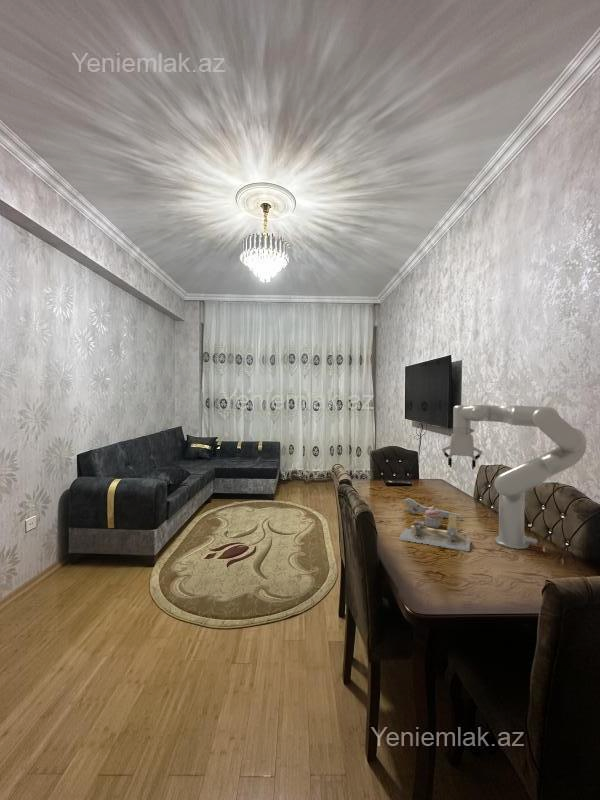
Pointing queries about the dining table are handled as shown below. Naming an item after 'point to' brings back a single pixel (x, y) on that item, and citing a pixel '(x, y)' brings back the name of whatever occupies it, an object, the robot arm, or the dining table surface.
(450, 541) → the bolt plate
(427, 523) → the cupcake
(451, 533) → the block
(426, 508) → the wrench
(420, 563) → the dining table surface
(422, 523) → the sliding bolt bar
